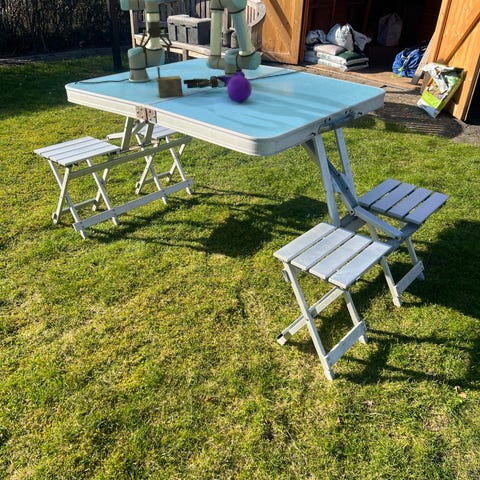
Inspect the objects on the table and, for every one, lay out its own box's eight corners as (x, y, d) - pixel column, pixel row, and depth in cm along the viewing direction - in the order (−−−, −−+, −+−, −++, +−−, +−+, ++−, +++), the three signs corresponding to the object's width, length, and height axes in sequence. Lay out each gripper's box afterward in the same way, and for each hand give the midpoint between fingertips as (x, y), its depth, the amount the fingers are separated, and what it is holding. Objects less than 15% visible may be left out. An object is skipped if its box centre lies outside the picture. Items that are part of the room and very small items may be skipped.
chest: (159, 97, 290) (158, 81, 285) (158, 94, 298) (156, 79, 293) (182, 96, 294) (181, 80, 289) (180, 93, 301) (179, 77, 296)
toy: (237, 93, 295) (251, 108, 274) (212, 89, 288) (224, 103, 267) (243, 69, 287) (258, 82, 266) (217, 64, 279) (231, 76, 259)
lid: (156, 81, 285) (155, 68, 281) (155, 79, 293) (153, 65, 289) (181, 80, 289) (180, 66, 284) (179, 77, 296) (178, 64, 292)
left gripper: (173, 19, 278) (176, 56, 289) (132, 21, 273) (136, 58, 283) (174, 20, 272) (177, 58, 282) (132, 22, 266) (137, 60, 277)
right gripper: (221, 91, 290) (189, 94, 285) (212, 83, 311) (182, 86, 306) (221, 79, 286) (188, 81, 281) (212, 72, 307) (181, 74, 302)
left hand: (157, 58), depth 283 cm, fingers open, 13 cm apart
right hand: (185, 84), depth 294 cm, fingers open, 13 cm apart
